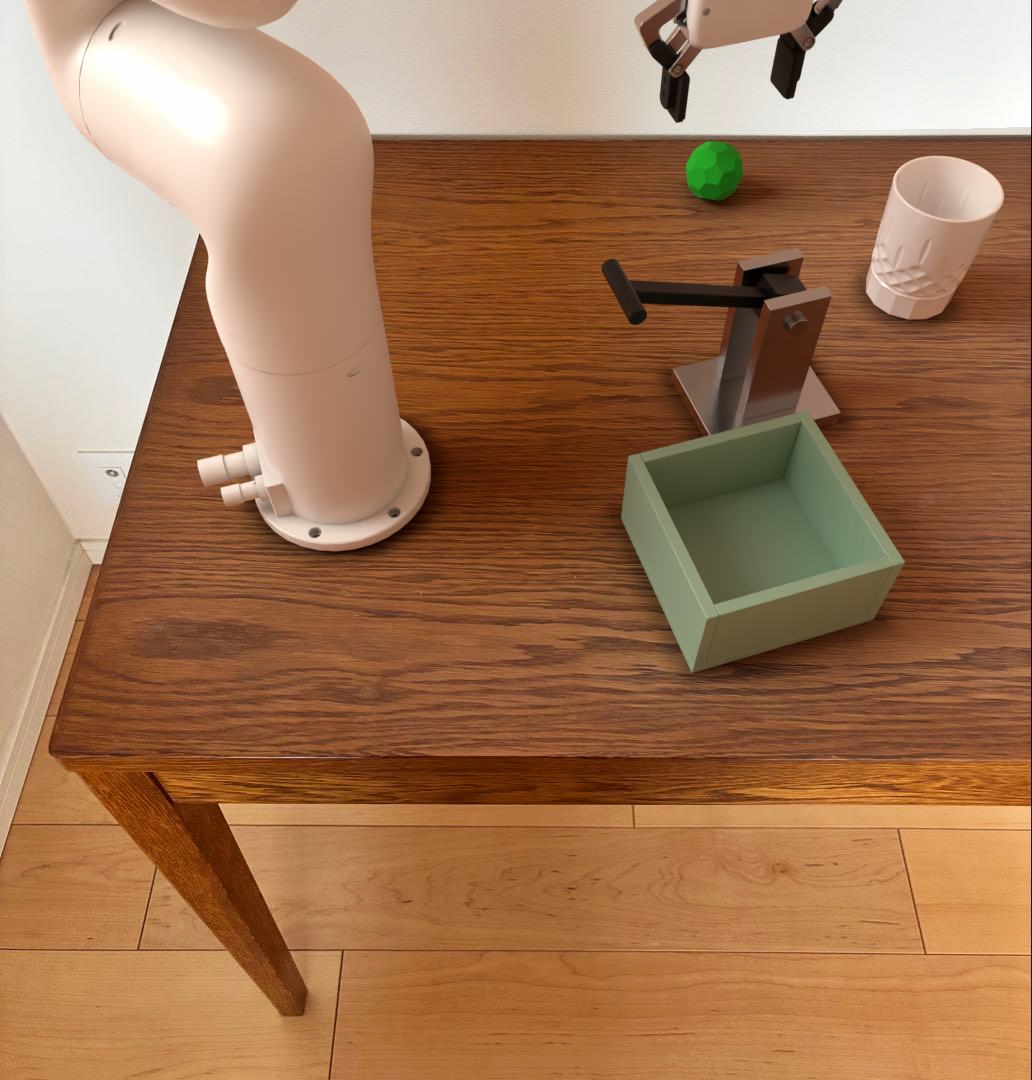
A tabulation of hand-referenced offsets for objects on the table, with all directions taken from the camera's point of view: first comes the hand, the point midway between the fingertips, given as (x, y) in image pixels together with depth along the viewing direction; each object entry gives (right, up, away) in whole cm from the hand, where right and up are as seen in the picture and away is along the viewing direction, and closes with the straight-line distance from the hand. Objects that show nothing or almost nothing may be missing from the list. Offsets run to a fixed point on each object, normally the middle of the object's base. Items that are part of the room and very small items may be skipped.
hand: (727, 101), depth 81 cm
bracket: (0, -26, -7) cm, 27 cm away
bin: (-2, -38, -16) cm, 41 cm away
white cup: (+15, -16, -1) cm, 22 cm away
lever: (-5, -21, -17) cm, 27 cm away
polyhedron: (0, -5, +7) cm, 9 cm away
